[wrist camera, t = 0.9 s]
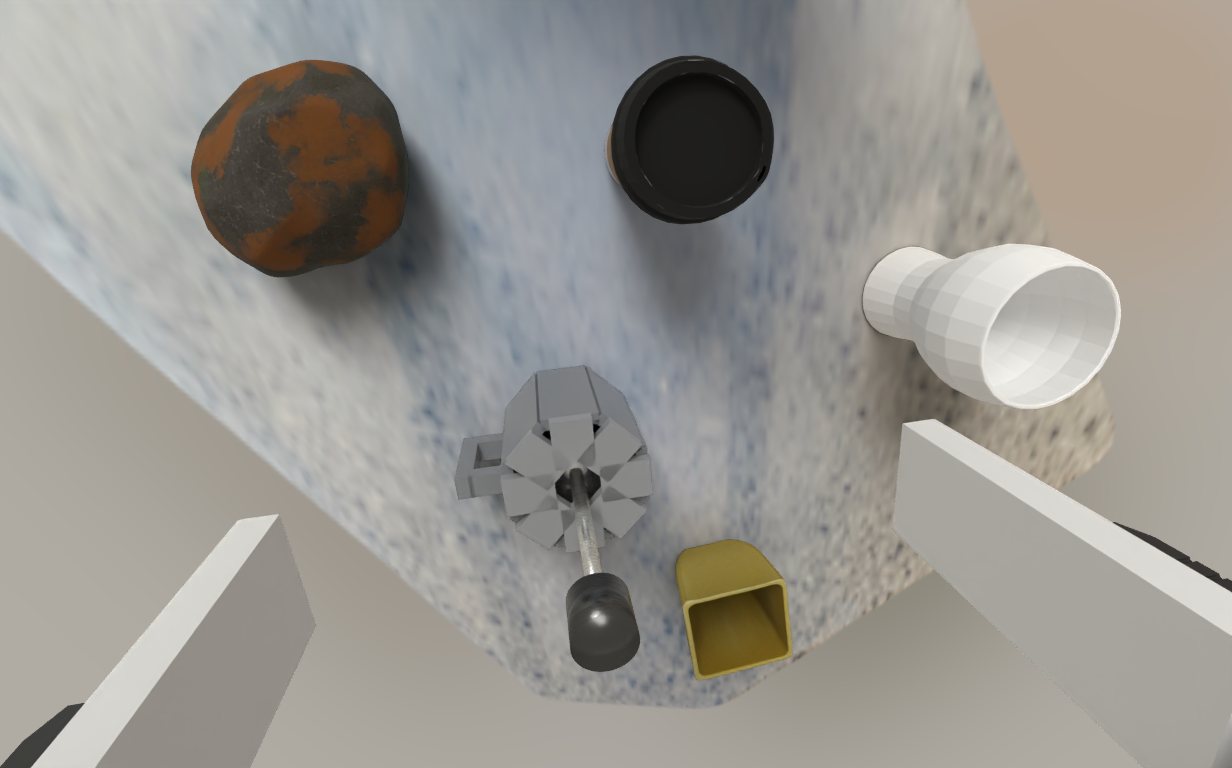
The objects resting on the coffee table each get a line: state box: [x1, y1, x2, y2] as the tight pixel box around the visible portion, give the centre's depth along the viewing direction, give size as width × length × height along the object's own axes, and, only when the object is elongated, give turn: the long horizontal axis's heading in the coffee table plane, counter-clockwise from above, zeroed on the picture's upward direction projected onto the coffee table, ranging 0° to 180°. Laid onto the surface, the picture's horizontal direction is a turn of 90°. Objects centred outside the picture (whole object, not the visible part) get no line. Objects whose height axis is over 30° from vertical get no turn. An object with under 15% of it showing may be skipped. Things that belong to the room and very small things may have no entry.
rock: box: [191, 60, 409, 277], centre depth 36 cm, size 14×11×10 cm
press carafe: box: [454, 366, 653, 553], centre depth 44 cm, size 10×14×11 cm
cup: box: [863, 244, 1121, 409], centre depth 43 cm, size 11×11×15 cm
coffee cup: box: [604, 56, 774, 224], centre depth 36 cm, size 8×8×15 cm
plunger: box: [548, 432, 640, 672], centre depth 34 cm, size 6×6×17 cm
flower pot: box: [676, 539, 793, 680], centre depth 53 cm, size 9×9×9 cm
